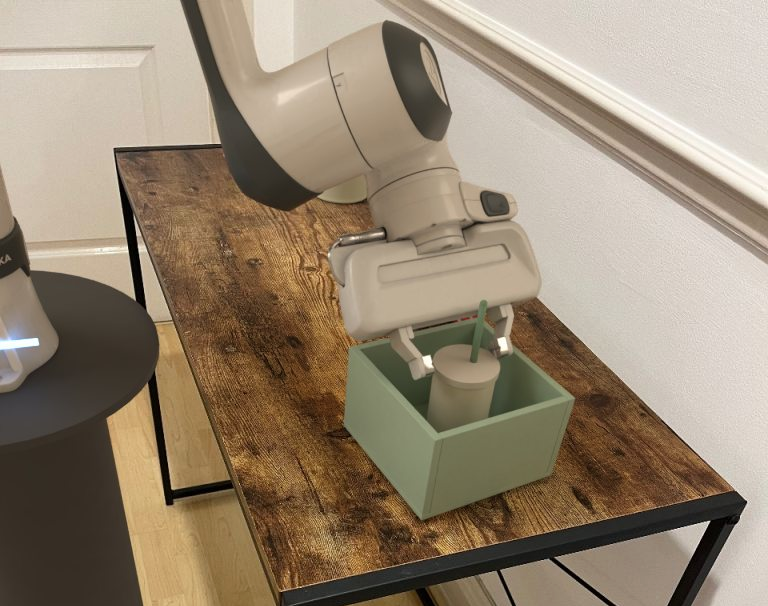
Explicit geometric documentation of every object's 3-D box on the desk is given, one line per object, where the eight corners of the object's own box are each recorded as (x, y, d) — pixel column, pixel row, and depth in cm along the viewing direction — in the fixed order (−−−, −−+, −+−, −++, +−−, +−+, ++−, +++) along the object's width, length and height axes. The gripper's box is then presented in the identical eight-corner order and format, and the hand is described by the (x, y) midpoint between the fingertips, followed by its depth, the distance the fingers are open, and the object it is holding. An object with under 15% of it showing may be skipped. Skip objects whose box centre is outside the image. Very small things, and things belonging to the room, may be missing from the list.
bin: (421, 520, 72) (435, 440, 66) (343, 425, 82) (348, 346, 75) (551, 475, 79) (575, 398, 72) (465, 391, 88) (480, 316, 81)
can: (325, 206, 121) (328, 124, 112) (301, 183, 126) (303, 103, 118) (378, 200, 124) (384, 120, 116) (352, 178, 130) (357, 100, 121)
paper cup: (443, 470, 77) (467, 327, 66) (410, 433, 81) (427, 292, 69) (496, 452, 79) (527, 312, 68) (461, 417, 83) (485, 278, 72)
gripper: (334, 223, 64) (382, 384, 65) (528, 193, 73) (568, 337, 74) (309, 250, 70) (353, 399, 71) (492, 220, 79) (529, 353, 80)
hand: (464, 367), depth 72 cm, fingers open, 7 cm apart
